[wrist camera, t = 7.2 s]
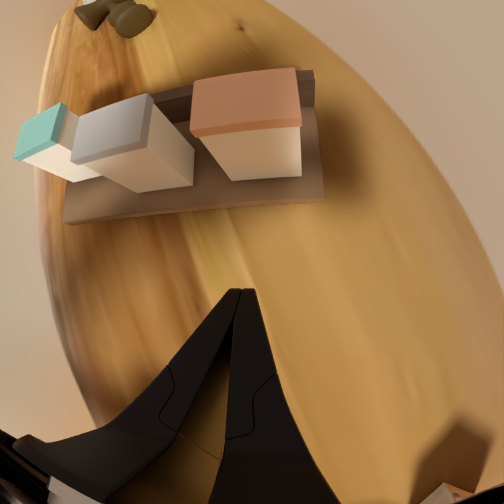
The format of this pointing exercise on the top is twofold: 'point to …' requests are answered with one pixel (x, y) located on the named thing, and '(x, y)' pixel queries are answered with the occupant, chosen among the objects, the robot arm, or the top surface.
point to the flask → (88, 1)
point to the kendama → (116, 16)
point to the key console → (203, 173)
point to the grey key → (134, 146)
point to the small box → (446, 495)
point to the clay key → (250, 122)
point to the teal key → (52, 143)
